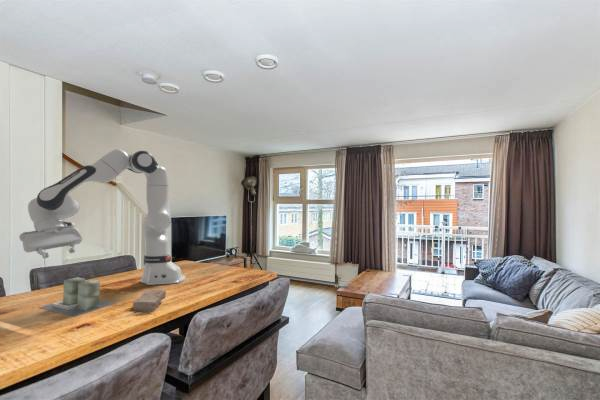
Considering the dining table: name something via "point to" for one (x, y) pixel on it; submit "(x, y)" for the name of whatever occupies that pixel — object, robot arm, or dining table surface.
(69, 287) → the column
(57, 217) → the robot arm
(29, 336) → the dining table surface
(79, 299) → the column
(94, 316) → the dining table surface
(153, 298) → the brick
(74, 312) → the base board
